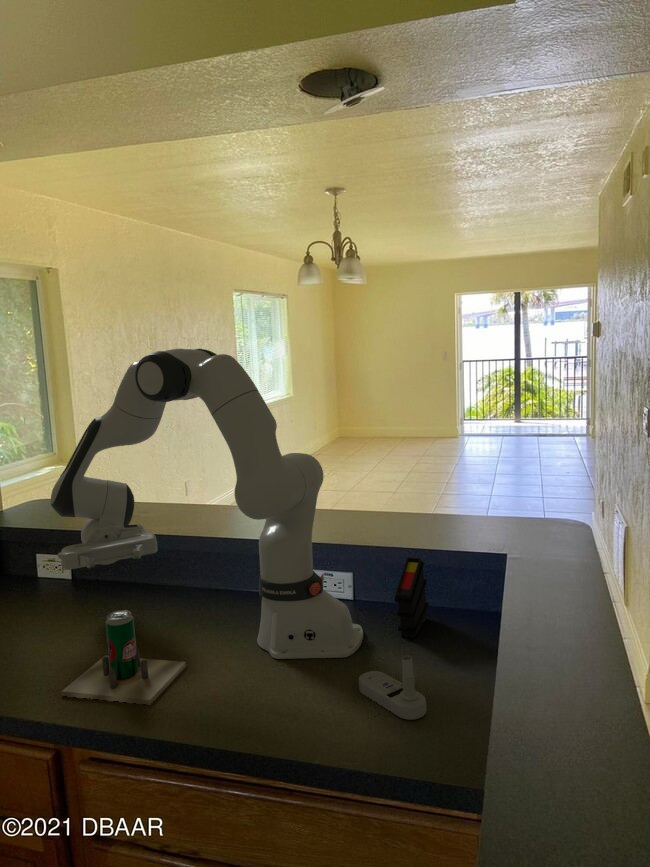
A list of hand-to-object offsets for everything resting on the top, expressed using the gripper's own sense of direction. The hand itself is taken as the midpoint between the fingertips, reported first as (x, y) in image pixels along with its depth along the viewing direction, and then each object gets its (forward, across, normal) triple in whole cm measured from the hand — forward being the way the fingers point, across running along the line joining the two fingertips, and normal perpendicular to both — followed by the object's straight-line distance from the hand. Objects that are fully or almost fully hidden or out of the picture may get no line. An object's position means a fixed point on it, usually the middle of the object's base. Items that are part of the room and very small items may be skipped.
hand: (114, 559), depth 137 cm
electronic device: (+48, +37, +21) cm, 64 cm away
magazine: (+26, +56, +21) cm, 65 cm away
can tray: (+16, -2, +19) cm, 25 cm away
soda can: (+16, -2, +18) cm, 24 cm away
